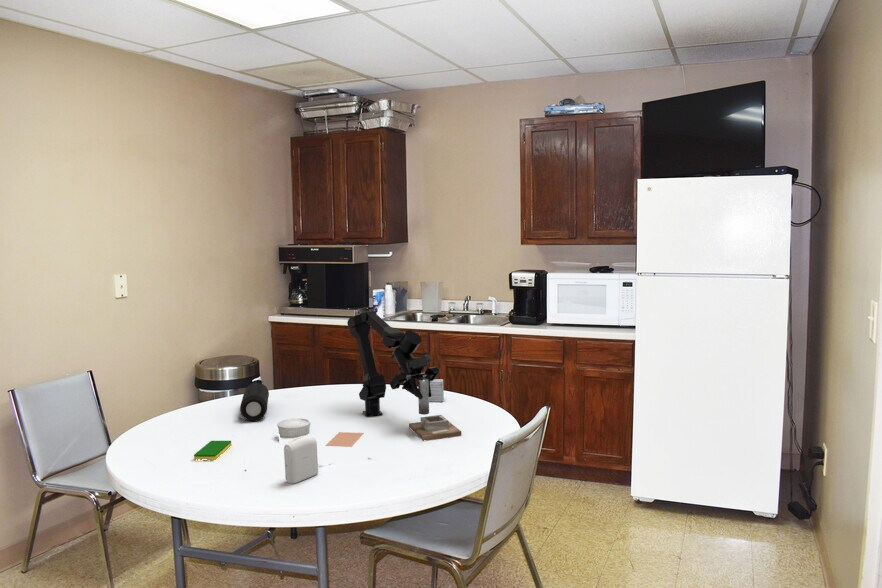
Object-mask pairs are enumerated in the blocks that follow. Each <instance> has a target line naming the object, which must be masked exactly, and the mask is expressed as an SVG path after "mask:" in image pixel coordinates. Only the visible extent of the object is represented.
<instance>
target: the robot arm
mask: <svg viewBox="0 0 882 588" xmlns="http://www.w3.org/2000/svg"><path fill="white" fill-rule="evenodd" d="M347 326H348V329H349V333H350V334H351V335H352V336H353V337H354V338H355V340H356V344H357V347H358V352H359V356H360V360H361V365H362V368H363V372H364V373H363V374H364V376H363V379H362V382H361V383H362V388H361V390H360V392H358V396H359V399H360V400H362V401H364V409H365V410H363V411H362V413H363V415H364V416H365V417H374V416H376V417H377V416H383V412H382V411H381V398H382V399H383V398H385V395H386V391H387V385H386V384H387V383H386V380H385V376H384V374H382V373H381V374H380V373H379V372H378V370H377V365H376V360H375V357H374V353H373V348H372V345H371V341H370V337H369V336H370V332H371V328H372V330H374V331H375V332H376V333H377V334H378V335H379V336H380V337H381V342H382V344H384V346H385V347H386V349H389V350H390V349H394V350H393V351H391V352H392V353H391V359H395V360H396V361H397V364H398V366H399V368H398V369H399V372H401V373H395V374H394V376H393V377H392V379H391V380H390V382H389V386H390V388H391V390H397V389H399V388H400V387H401V384H402V387H401V389H402V390H405V391H407V392H408V393H410V394H411V395H413V396H415V397H416V398H417V399H418V398H419V399H422V395H421V393H420V391H419V389H418V384H417V383H416V382H417V381H418V379H420V378H428V379H429V397H431V389H430V381H433V380H435V379H436V378H437V377H438V375H440V373H441V371H440V368H439V367H438V366H431V367H427V366H429V364H430V363H432V360H431V356H429V354H427V353H426V354H424V355H421V356H420V357H414V356H413V354H414V353H415V351H416V350H417V348H419V346H420V345H421V343H422V341H423V340H422V337H421V335H420V334H419V333H417V332H416V331H413V329H407V330H406V331H405V333H404V331H402V330H400V329H399V328H396V327H395V328H394V327H392V326H390V325H389V324H388V323H387V321H385V320H384V319H383V318H381V316H379V315H378V314H377V312H376V310H368V311H366V310H365V311H363V312H361V313H359V314H357V315H351V316H350V317H349V318H348V320H347ZM425 367H427V368H426V369H425ZM424 370H425V371H424ZM423 371H424V372H423ZM419 399H418V400H419Z"/></svg>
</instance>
